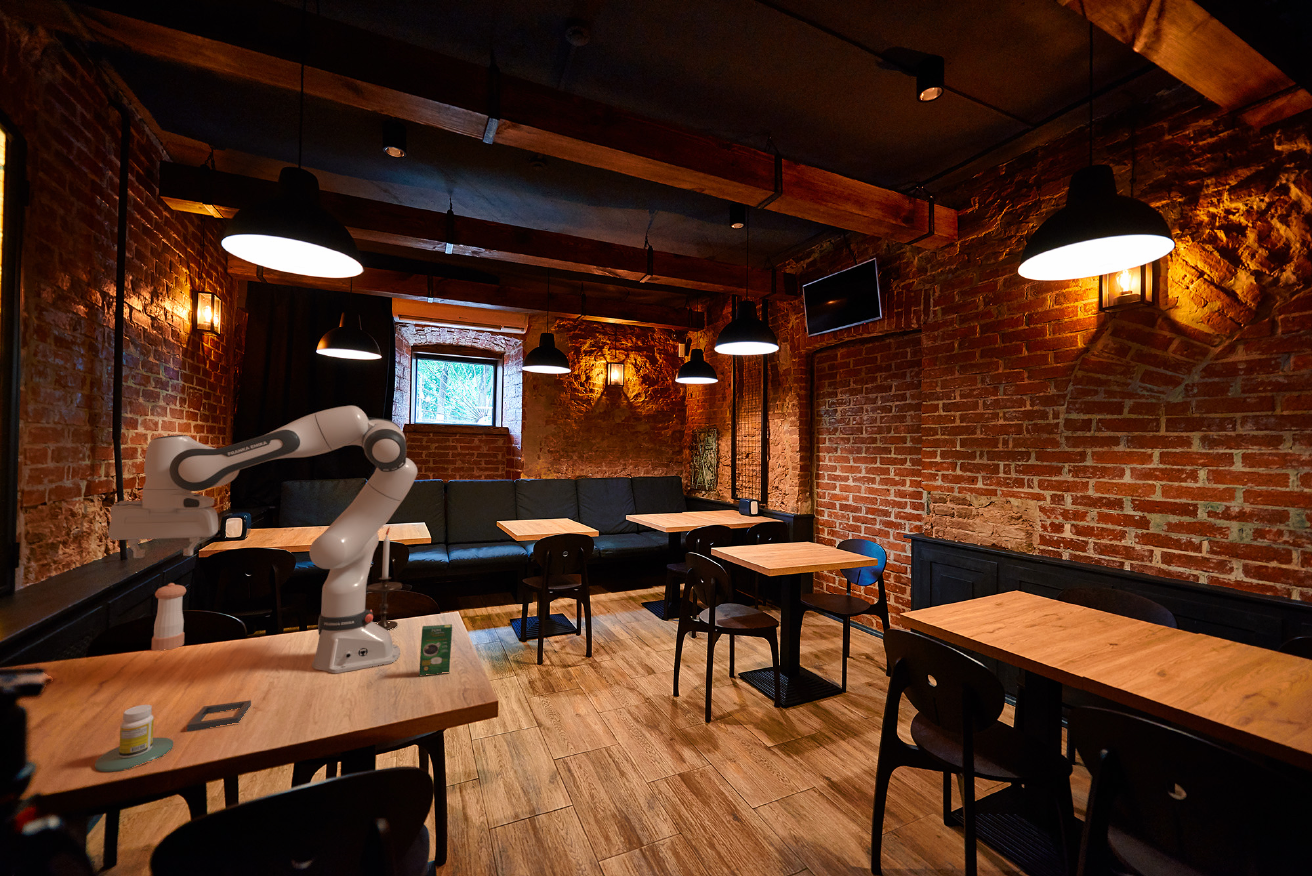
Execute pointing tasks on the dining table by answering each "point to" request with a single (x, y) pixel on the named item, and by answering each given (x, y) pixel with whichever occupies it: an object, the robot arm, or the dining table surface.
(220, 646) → the dining table surface
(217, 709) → the square metal frame
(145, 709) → the supplement bottle
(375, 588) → the candlestick
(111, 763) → the green coaster
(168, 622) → the pepper shaker
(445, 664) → the coffee box
